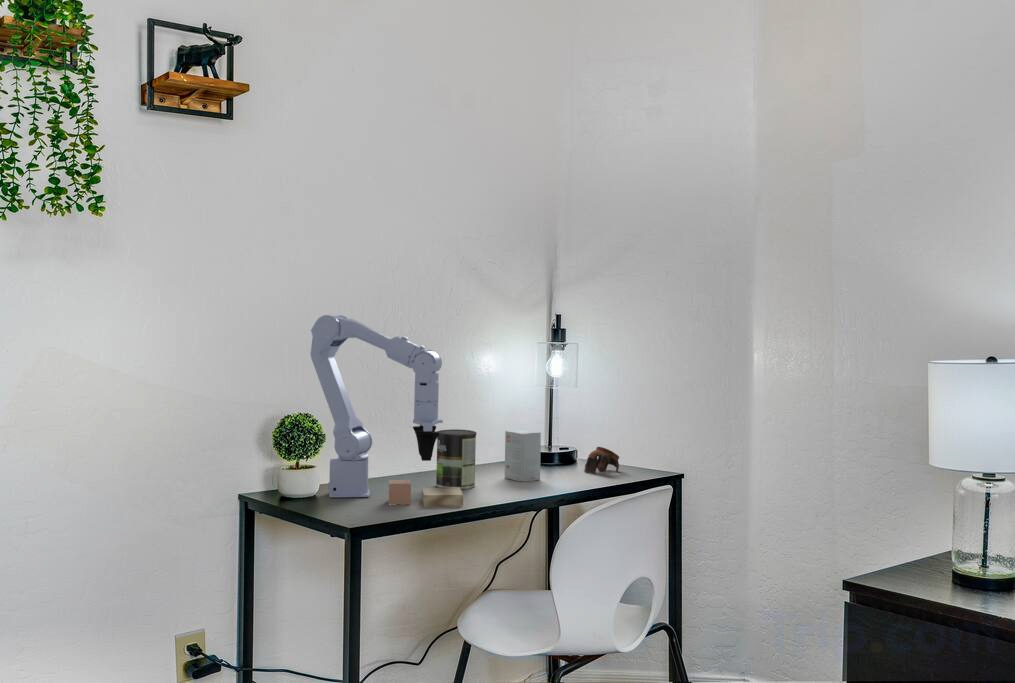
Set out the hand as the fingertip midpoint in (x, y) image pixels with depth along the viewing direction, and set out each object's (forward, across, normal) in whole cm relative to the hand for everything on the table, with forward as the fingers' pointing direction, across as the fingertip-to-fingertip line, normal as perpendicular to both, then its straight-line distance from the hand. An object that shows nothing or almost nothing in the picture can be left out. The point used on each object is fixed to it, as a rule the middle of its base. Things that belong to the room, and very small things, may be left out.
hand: (425, 457), depth 207 cm
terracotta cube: (+10, -4, +6) cm, 12 cm away
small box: (+10, +25, -28) cm, 39 cm away
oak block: (+10, -4, -4) cm, 12 cm away
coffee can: (+10, +16, -9) cm, 21 cm away
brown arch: (+10, +34, -53) cm, 64 cm away
